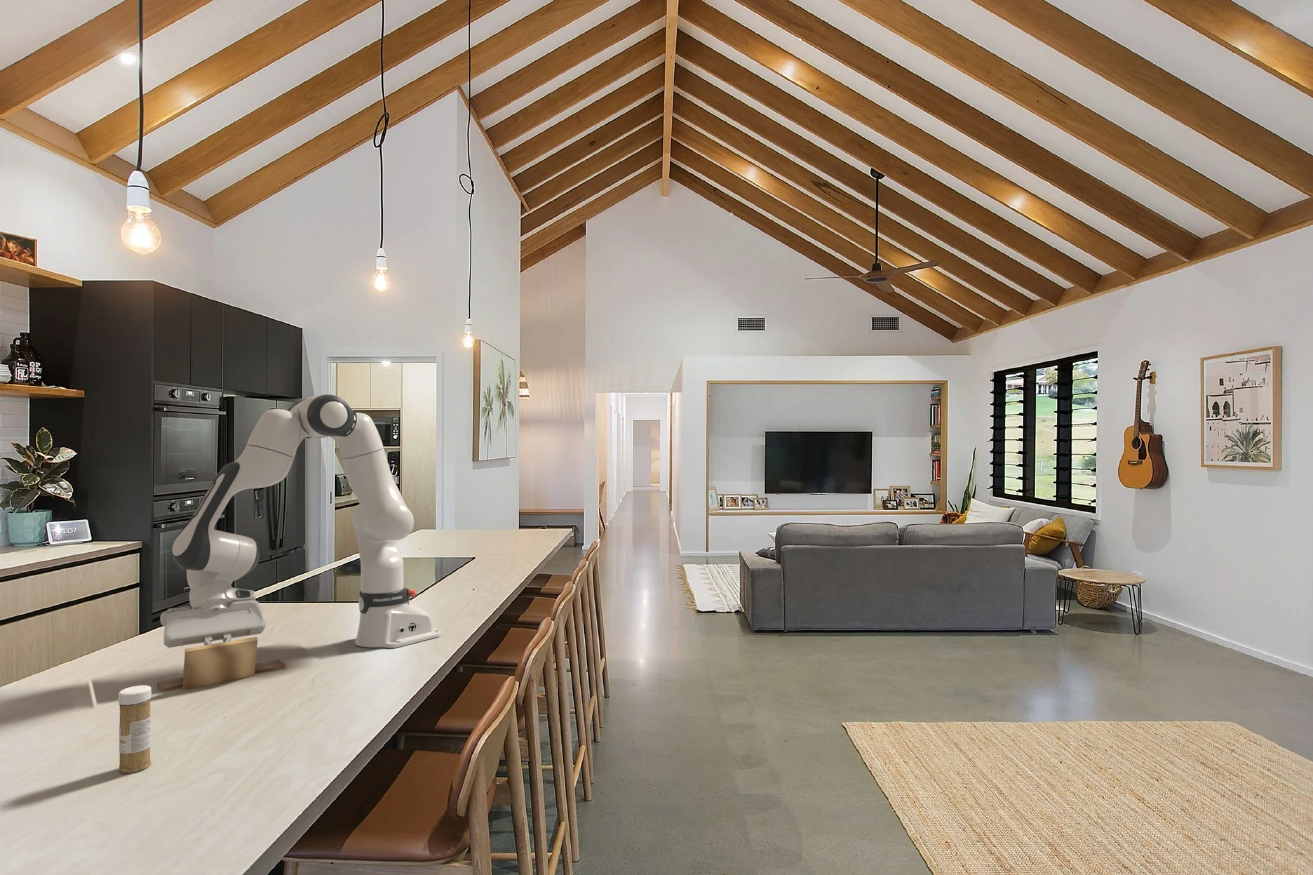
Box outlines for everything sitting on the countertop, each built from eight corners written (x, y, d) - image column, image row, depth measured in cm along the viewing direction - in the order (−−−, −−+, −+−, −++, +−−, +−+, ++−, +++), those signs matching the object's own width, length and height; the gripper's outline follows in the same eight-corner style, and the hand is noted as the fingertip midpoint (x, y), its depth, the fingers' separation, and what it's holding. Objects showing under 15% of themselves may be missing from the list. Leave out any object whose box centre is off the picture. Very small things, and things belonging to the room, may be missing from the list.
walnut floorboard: (278, 664, 179) (278, 659, 179) (285, 669, 174) (285, 664, 174) (157, 687, 163) (157, 681, 163) (160, 694, 158) (160, 688, 158)
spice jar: (115, 768, 122) (114, 689, 122) (147, 759, 125) (146, 682, 125) (122, 776, 119) (122, 695, 119) (155, 767, 122) (155, 688, 123)
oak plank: (254, 676, 169) (253, 673, 170) (257, 639, 166) (256, 636, 167) (183, 690, 160) (182, 686, 160) (185, 651, 157) (185, 648, 158)
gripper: (160, 602, 162) (165, 656, 155) (262, 590, 175) (271, 639, 168) (158, 617, 166) (163, 671, 158) (258, 604, 179) (266, 653, 172)
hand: (219, 654), depth 163 cm, fingers closed, pressing on oak plank
